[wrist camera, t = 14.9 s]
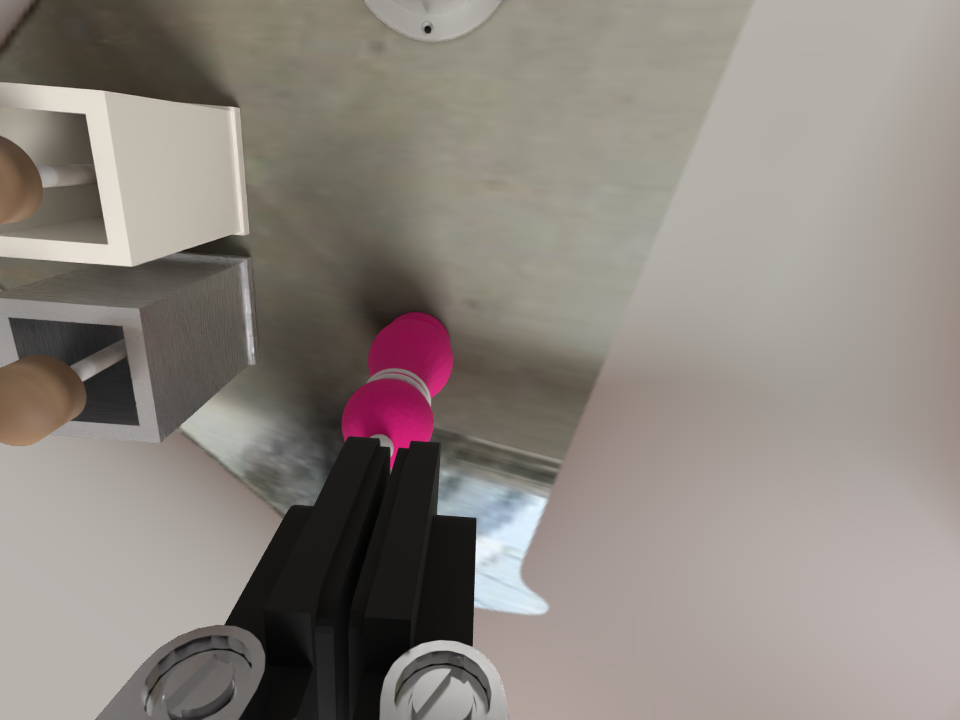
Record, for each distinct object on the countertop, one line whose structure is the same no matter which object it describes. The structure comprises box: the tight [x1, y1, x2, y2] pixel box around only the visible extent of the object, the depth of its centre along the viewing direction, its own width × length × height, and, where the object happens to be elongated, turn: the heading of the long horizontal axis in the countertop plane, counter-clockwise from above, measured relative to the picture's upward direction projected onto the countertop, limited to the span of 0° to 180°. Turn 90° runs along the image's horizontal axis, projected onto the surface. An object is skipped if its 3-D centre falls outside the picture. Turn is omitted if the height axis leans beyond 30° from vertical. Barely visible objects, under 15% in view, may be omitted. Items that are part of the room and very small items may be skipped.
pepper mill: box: [342, 312, 453, 469], centre depth 41 cm, size 7×7×20 cm
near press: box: [0, 82, 249, 267], centre depth 37 cm, size 10×11×16 cm
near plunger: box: [0, 136, 97, 224], centre depth 34 cm, size 6×6×20 cm
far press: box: [0, 251, 259, 443], centre depth 42 cm, size 10×11×16 cm
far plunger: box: [0, 338, 128, 446], centre depth 39 cm, size 6×6×20 cm
